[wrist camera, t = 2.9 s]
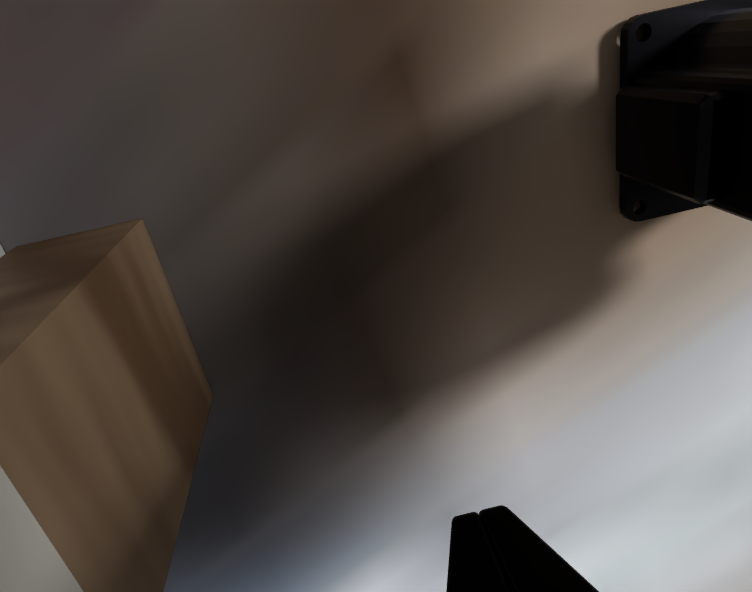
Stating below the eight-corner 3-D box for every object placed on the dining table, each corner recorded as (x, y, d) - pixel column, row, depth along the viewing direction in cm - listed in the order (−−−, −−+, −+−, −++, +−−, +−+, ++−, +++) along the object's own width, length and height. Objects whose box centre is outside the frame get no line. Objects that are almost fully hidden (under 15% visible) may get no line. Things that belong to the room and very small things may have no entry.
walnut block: (142, 218, 17) (-141, 510, 6) (213, 395, 20) (109, 803, 9) (16, 246, 17) (-505, 599, 6) (107, 420, 20) (-128, 866, 9)
